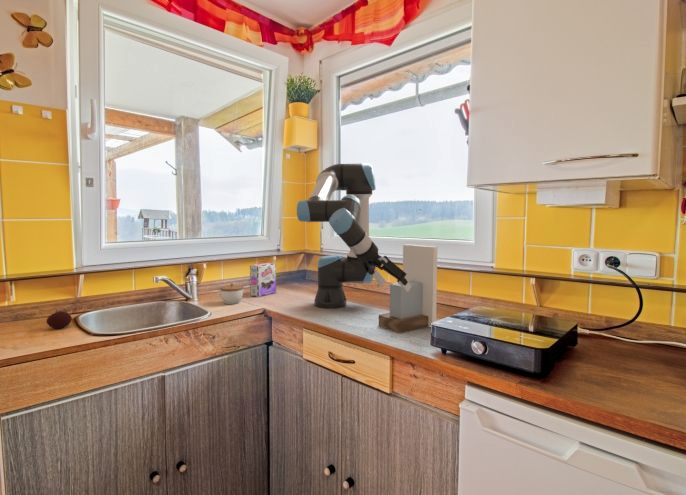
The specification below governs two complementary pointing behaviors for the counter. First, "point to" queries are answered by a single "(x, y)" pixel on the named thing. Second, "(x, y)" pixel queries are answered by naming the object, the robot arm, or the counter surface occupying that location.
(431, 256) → the wall board
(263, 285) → the candy box
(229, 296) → the lidded jar
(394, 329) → the oak ledge
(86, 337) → the counter surface
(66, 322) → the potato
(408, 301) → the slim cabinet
